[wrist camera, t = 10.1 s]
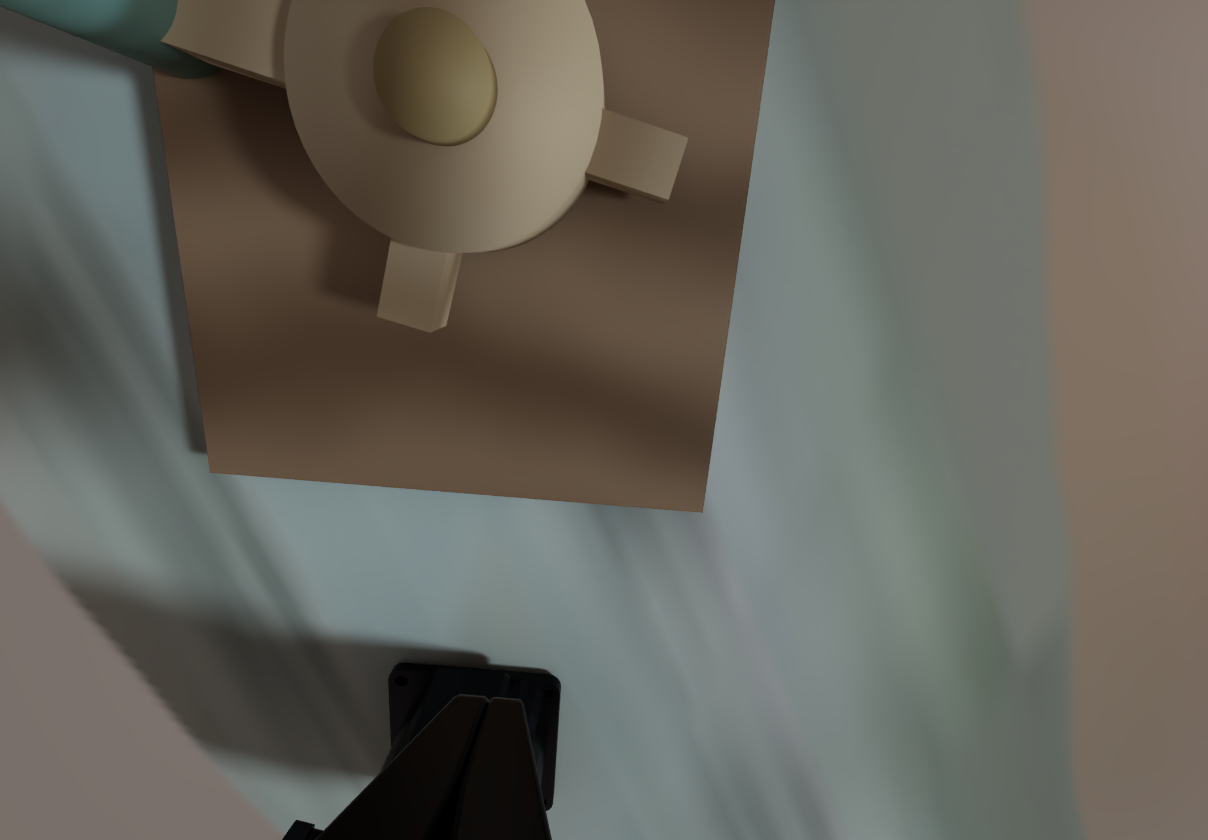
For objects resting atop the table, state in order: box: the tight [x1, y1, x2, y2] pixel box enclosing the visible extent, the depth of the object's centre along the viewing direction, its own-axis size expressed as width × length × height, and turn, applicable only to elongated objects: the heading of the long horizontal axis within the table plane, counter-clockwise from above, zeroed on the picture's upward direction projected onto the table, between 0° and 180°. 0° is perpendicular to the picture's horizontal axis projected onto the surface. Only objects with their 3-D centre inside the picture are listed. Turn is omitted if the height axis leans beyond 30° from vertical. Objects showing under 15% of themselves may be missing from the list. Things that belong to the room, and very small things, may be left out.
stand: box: [152, 0, 775, 513], centre depth 13 cm, size 20×16×6 cm
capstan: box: [0, 0, 688, 333], centre depth 11 cm, size 14×11×6 cm
